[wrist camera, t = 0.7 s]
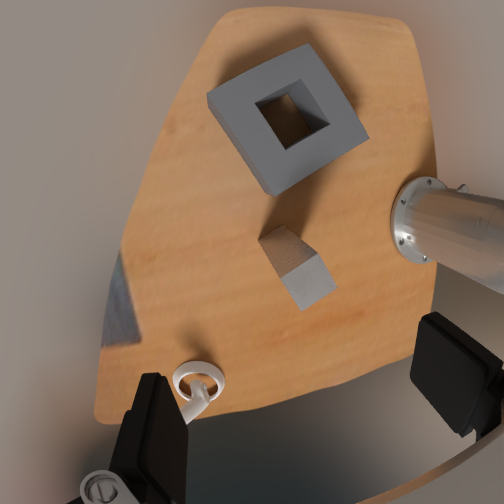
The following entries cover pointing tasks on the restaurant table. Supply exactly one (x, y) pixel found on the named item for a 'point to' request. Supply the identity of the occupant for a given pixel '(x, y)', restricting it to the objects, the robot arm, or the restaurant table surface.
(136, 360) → the restaurant table surface
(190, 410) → the hook
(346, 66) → the restaurant table surface
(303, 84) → the well block
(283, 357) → the restaurant table surface
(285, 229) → the steel post
